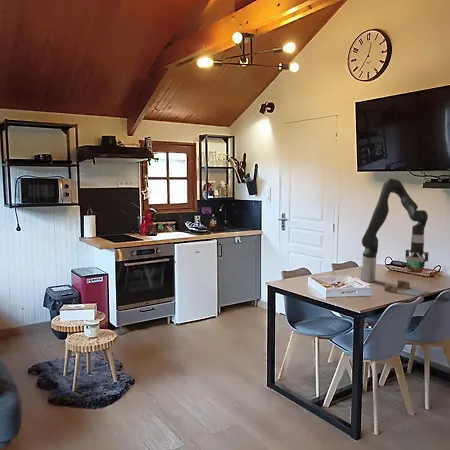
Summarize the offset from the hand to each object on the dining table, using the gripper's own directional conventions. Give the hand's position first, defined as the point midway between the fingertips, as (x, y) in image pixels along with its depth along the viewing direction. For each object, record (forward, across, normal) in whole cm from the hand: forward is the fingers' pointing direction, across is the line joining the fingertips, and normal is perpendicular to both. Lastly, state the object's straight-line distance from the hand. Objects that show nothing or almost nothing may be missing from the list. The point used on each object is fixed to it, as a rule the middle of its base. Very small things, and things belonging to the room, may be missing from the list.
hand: (416, 266), depth 293 cm
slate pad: (+17, 0, 0) cm, 17 cm away
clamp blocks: (+17, -12, 0) cm, 21 cm away
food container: (+4, 0, 0) cm, 4 cm away
